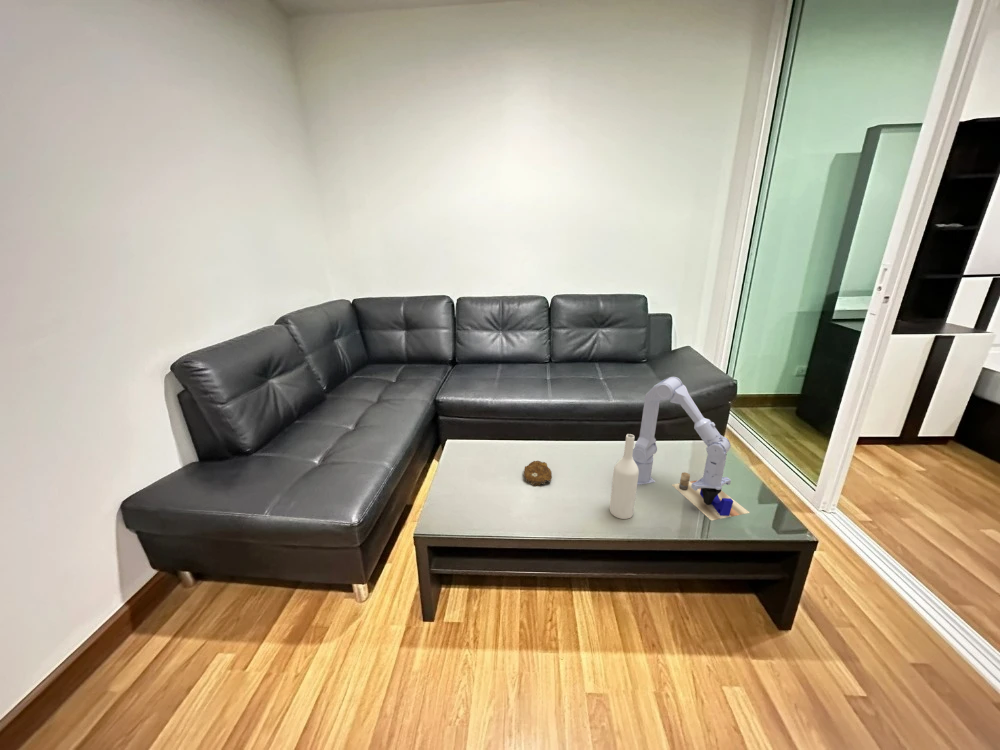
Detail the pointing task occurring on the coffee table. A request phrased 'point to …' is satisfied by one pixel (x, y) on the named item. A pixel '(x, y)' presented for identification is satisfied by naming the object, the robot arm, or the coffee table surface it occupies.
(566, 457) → the coffee table surface
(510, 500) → the coffee table surface
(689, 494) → the plywood sheet
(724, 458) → the robot arm
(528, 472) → the decorative rock
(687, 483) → the cylindrical peg
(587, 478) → the coffee table surface
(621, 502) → the bottle
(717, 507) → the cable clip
